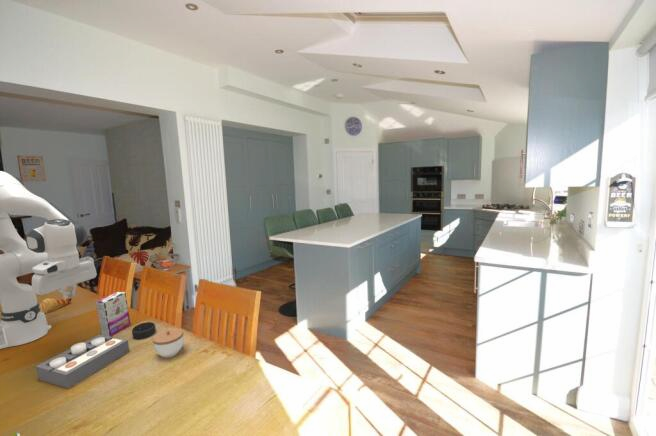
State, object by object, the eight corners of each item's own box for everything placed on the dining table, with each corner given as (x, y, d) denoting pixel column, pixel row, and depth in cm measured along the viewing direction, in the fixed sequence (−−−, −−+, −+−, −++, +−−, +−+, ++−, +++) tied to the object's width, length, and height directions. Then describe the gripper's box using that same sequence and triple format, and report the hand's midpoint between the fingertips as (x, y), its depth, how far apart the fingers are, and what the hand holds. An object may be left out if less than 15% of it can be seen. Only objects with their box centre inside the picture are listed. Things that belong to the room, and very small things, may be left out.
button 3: (89, 351, 122) (88, 342, 122) (101, 345, 127) (99, 336, 126) (97, 353, 121) (96, 343, 120) (108, 347, 125) (107, 338, 125)
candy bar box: (122, 324, 148) (117, 291, 145) (130, 324, 147) (126, 291, 144) (100, 336, 137) (95, 301, 134) (110, 337, 136) (104, 301, 133)
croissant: (24, 326, 156) (24, 314, 153) (16, 314, 160) (16, 302, 157) (74, 308, 174) (75, 298, 171) (66, 298, 178) (66, 287, 175)
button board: (38, 379, 109) (35, 365, 108) (101, 345, 129) (99, 333, 129) (68, 388, 104) (65, 373, 103) (129, 351, 124) (127, 338, 123)
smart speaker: (127, 339, 134) (126, 330, 134) (144, 328, 143) (143, 320, 142) (144, 341, 132) (143, 332, 131) (160, 330, 141) (159, 322, 140)
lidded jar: (189, 352, 122) (187, 329, 121) (160, 364, 115) (157, 341, 113) (178, 342, 130) (176, 321, 128) (150, 354, 122) (147, 331, 121)
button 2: (69, 357, 116) (67, 347, 115) (82, 351, 120) (80, 341, 119) (77, 359, 114) (75, 349, 114) (90, 353, 118) (88, 343, 118)
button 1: (48, 373, 109) (46, 363, 109) (62, 366, 114) (60, 356, 113) (56, 376, 108) (54, 365, 107) (70, 368, 112) (68, 358, 111)
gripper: (87, 254, 128) (91, 286, 130) (26, 269, 109) (32, 306, 111) (98, 255, 126) (102, 288, 128) (38, 271, 107) (43, 309, 109)
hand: (69, 296), depth 119 cm, fingers closed
